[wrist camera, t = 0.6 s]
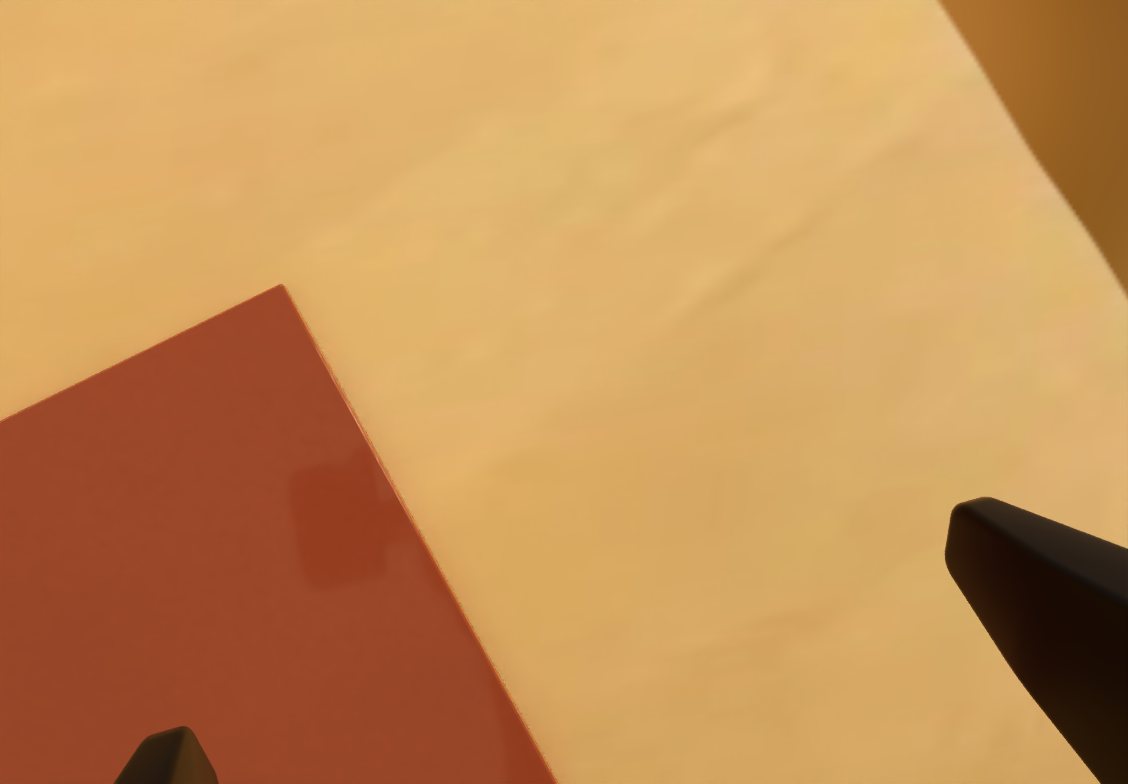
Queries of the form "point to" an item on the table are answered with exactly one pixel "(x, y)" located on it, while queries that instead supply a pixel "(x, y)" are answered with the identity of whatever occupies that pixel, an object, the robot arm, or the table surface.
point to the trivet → (232, 580)
